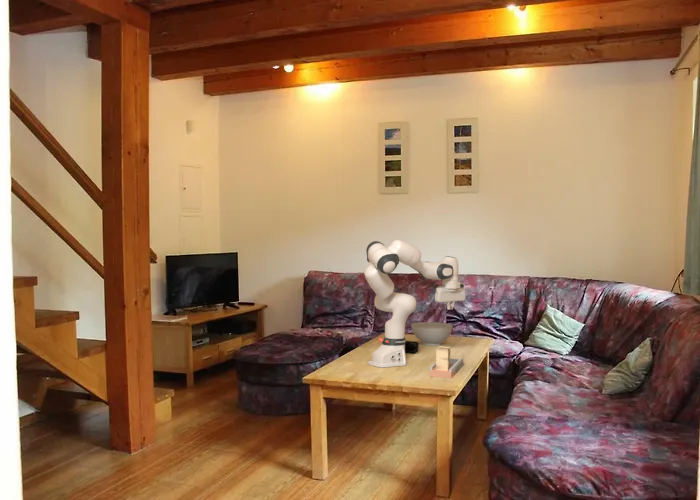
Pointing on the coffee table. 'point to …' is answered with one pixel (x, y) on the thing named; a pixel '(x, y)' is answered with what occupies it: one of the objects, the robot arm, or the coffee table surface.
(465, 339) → the coffee table surface
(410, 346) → the end cap
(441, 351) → the block
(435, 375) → the lane
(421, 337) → the decorative bowl
